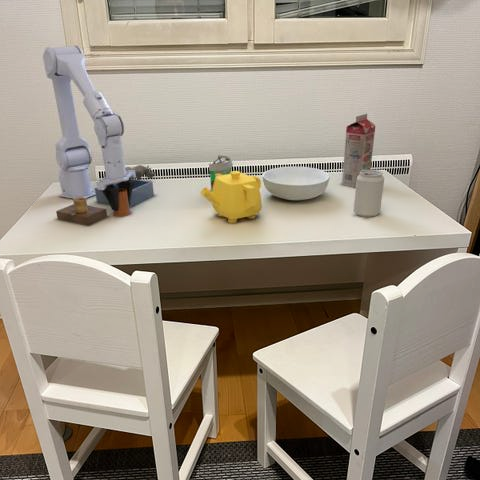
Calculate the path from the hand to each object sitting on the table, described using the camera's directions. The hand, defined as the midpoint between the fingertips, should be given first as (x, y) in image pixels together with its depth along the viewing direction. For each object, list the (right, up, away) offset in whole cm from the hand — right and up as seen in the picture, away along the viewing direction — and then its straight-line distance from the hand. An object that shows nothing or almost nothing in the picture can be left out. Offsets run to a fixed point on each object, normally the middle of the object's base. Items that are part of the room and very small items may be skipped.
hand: (120, 207), depth 150 cm
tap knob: (-10, -2, -4) cm, 11 cm away
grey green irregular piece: (+30, +10, +19) cm, 37 cm away
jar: (0, -2, +1) cm, 2 cm away
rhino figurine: (0, +15, +29) cm, 32 cm away
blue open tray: (-1, +6, +13) cm, 14 cm away
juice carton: (+74, +13, +22) cm, 79 cm away
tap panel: (-11, -3, -2) cm, 11 cm away
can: (+72, -3, -3) cm, 72 cm away
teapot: (+33, -4, -3) cm, 33 cm away
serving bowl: (+53, +6, +12) cm, 55 cm away
